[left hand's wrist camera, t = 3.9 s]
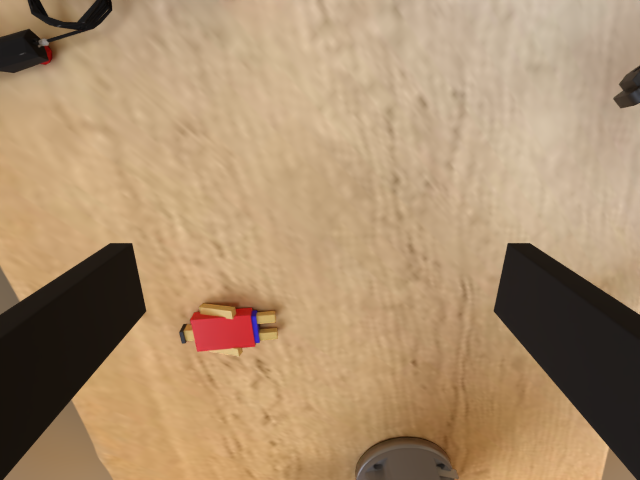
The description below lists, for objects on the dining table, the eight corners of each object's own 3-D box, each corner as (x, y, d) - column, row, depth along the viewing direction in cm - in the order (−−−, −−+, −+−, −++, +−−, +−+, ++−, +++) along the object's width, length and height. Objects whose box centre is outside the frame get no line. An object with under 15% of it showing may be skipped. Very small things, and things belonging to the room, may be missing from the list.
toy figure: (273, 307, 43) (174, 316, 42) (278, 353, 45) (185, 361, 45) (274, 297, 45) (180, 305, 45) (279, 341, 48) (190, 348, 47)
